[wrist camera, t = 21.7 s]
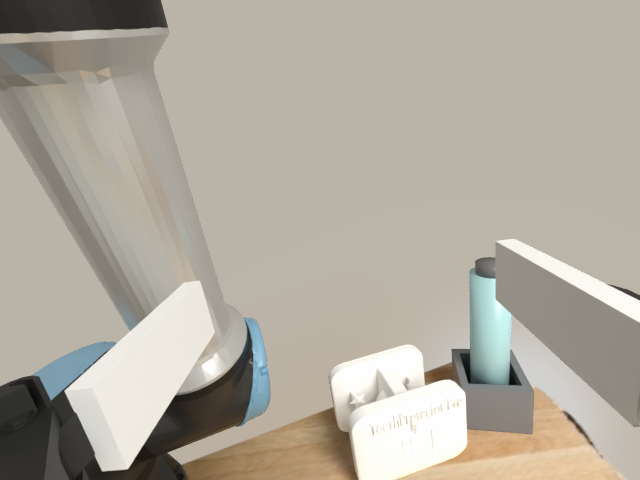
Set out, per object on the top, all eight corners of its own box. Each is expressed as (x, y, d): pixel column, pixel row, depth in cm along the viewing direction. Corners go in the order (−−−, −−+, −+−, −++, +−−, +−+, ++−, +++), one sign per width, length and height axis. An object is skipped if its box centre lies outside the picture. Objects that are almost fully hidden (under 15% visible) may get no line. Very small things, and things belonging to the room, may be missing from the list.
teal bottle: (474, 419, 45) (474, 270, 39) (467, 393, 50) (466, 256, 43) (513, 422, 44) (519, 269, 37) (502, 395, 48) (506, 254, 42)
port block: (463, 428, 44) (461, 388, 42) (453, 384, 52) (451, 348, 50) (532, 434, 42) (534, 391, 40) (510, 386, 50) (511, 349, 48)
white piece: (426, 400, 50) (421, 338, 47) (471, 460, 40) (469, 386, 37) (337, 430, 47) (326, 366, 44) (362, 501, 37) (349, 425, 34)
